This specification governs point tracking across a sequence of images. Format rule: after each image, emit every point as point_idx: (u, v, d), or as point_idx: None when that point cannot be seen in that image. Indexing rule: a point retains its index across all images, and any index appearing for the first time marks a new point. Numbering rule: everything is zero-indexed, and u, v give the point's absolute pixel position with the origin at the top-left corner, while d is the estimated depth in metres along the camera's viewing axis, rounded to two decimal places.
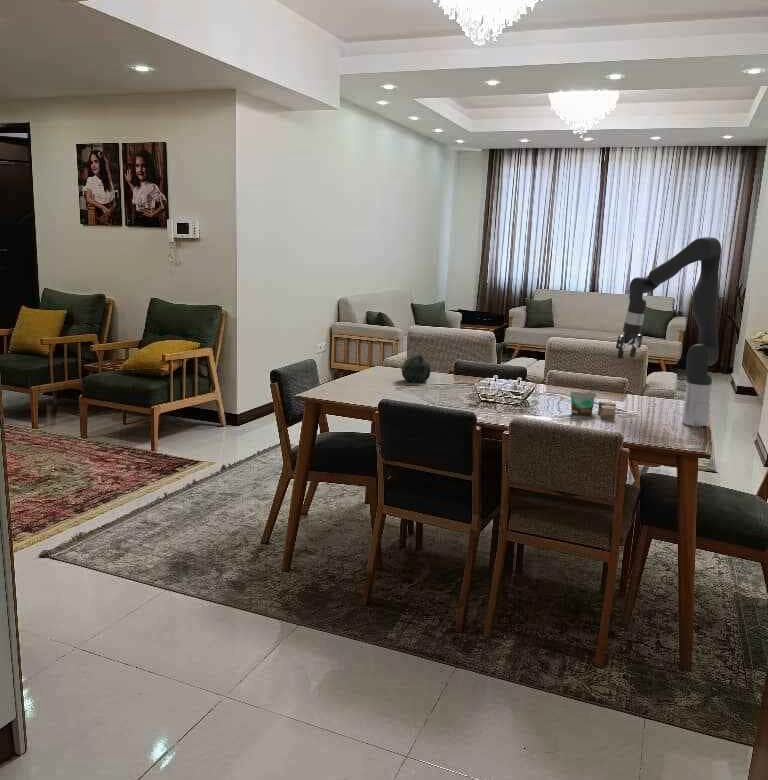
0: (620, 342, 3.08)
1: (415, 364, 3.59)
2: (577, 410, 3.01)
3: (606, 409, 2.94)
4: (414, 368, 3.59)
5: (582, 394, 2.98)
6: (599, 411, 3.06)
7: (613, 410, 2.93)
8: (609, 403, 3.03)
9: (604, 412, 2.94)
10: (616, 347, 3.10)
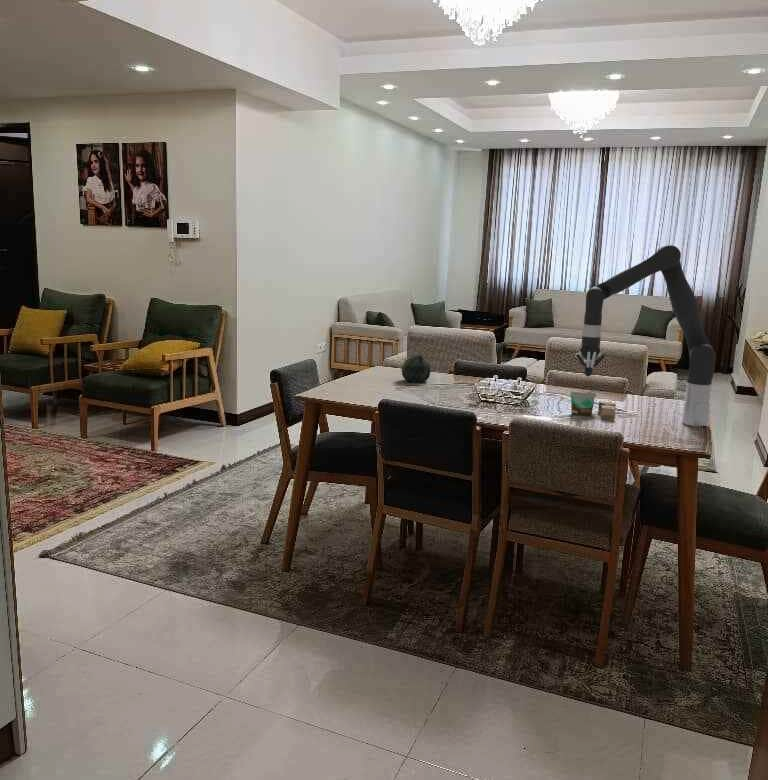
0: (579, 360, 2.97)
1: (415, 364, 3.59)
2: (577, 410, 3.01)
3: (606, 409, 2.94)
4: (414, 368, 3.59)
5: (582, 394, 2.98)
6: (599, 411, 3.06)
7: (613, 410, 2.93)
8: (609, 403, 3.03)
9: (604, 412, 2.94)
10: (580, 363, 2.99)
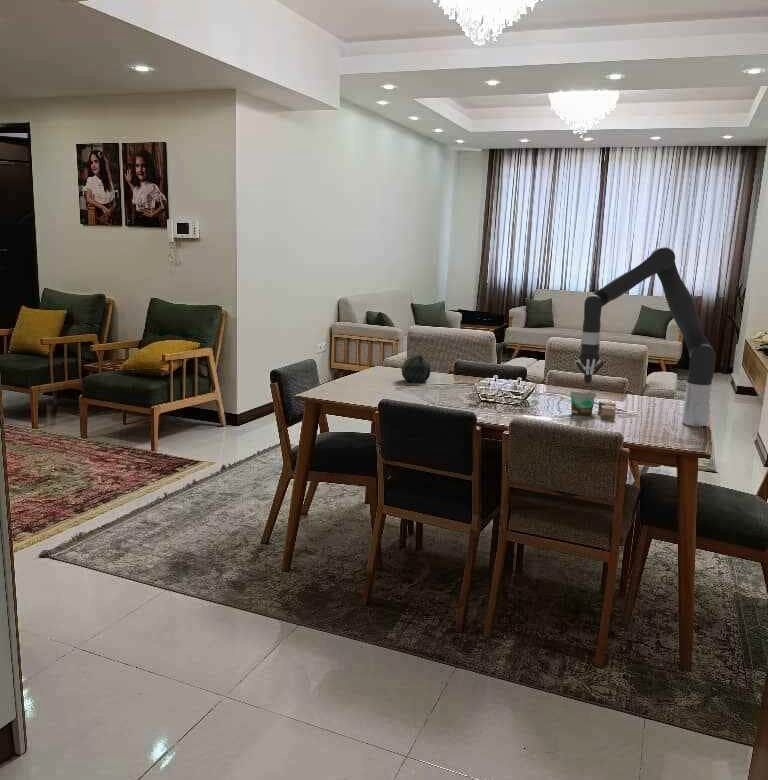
0: (578, 367, 2.98)
1: (415, 364, 3.59)
2: (577, 410, 3.01)
3: (606, 409, 2.94)
4: (414, 368, 3.59)
5: (582, 394, 2.98)
6: (599, 411, 3.06)
7: (613, 410, 2.93)
8: (609, 403, 3.03)
9: (604, 412, 2.94)
10: (580, 371, 3.00)
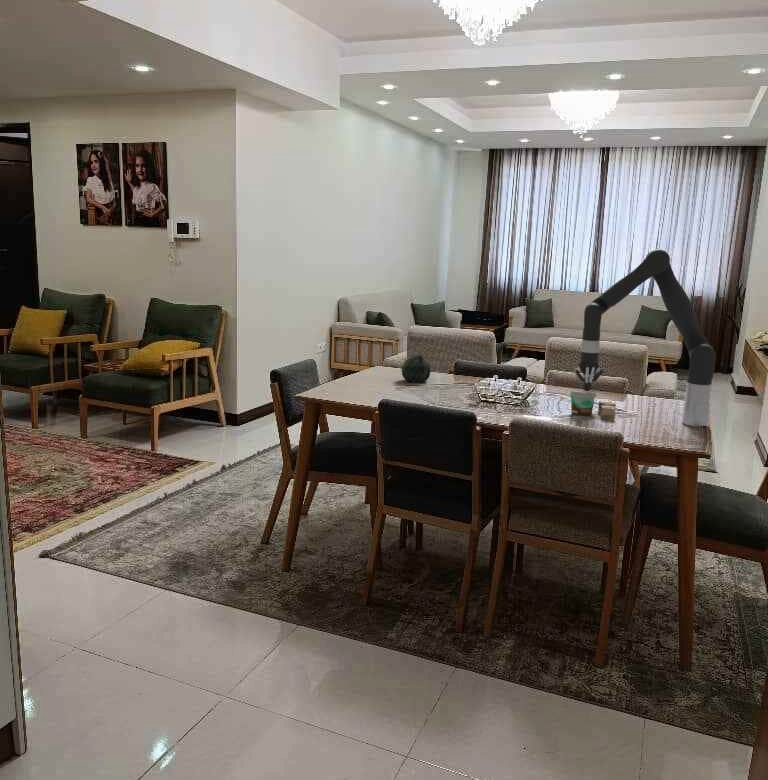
0: (577, 375, 2.98)
1: (415, 364, 3.59)
2: (577, 410, 3.01)
3: (606, 409, 2.94)
4: (414, 368, 3.59)
5: (582, 394, 2.98)
6: (599, 411, 3.06)
7: (613, 410, 2.93)
8: (609, 403, 3.03)
9: (604, 412, 2.94)
10: (579, 379, 3.00)
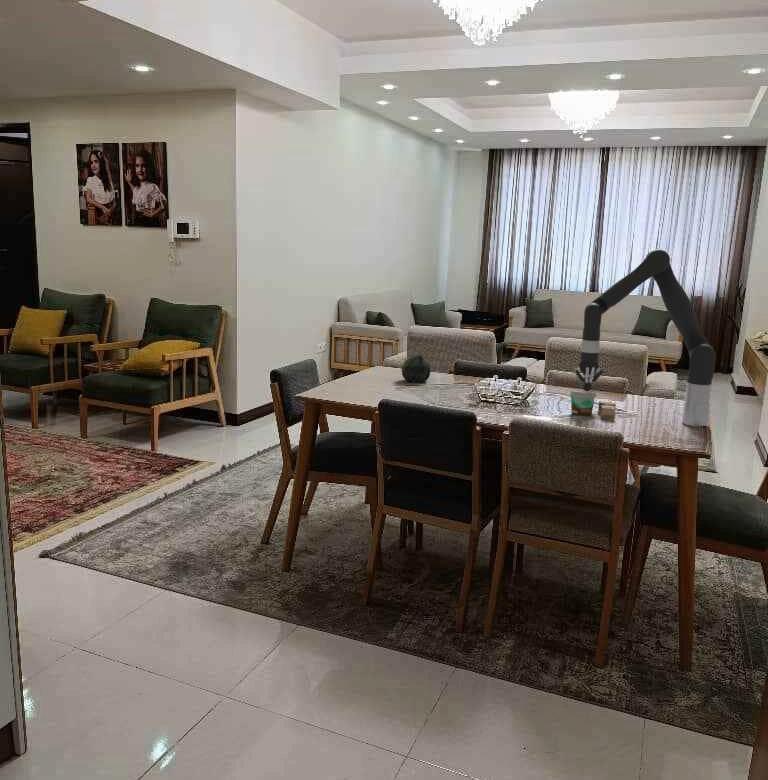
0: (577, 375, 2.98)
1: (415, 364, 3.59)
2: (577, 410, 3.01)
3: (606, 409, 2.94)
4: (414, 368, 3.59)
5: (582, 394, 2.98)
6: (599, 411, 3.06)
7: (613, 410, 2.93)
8: (609, 403, 3.03)
9: (604, 412, 2.94)
10: (579, 379, 3.00)
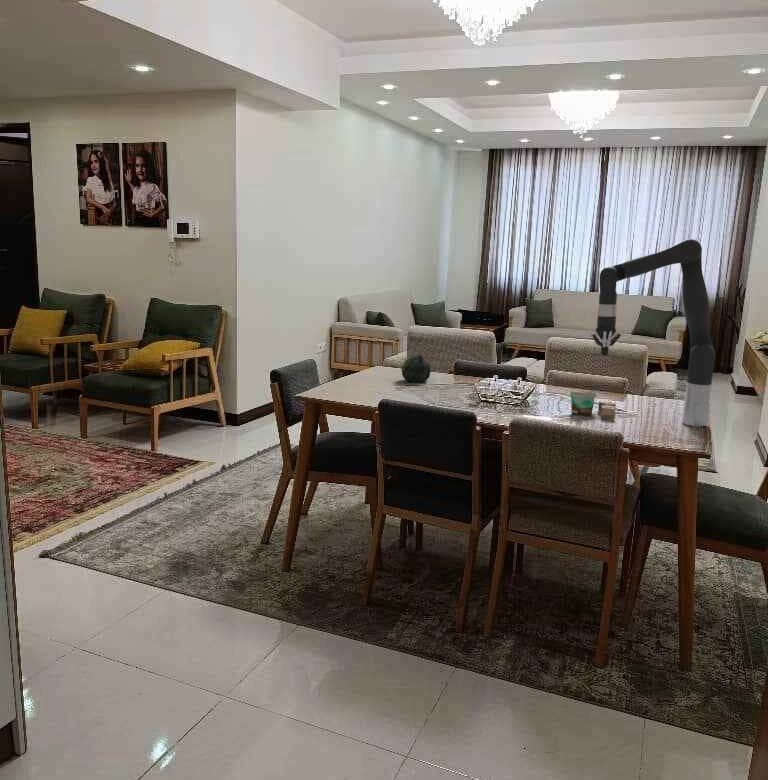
0: (595, 340, 2.98)
1: (415, 364, 3.59)
2: (577, 410, 3.01)
3: (606, 409, 2.94)
4: (414, 368, 3.59)
5: (582, 394, 2.98)
6: (599, 411, 3.06)
7: (613, 410, 2.93)
8: (609, 403, 3.03)
9: (604, 412, 2.94)
10: (597, 343, 3.00)
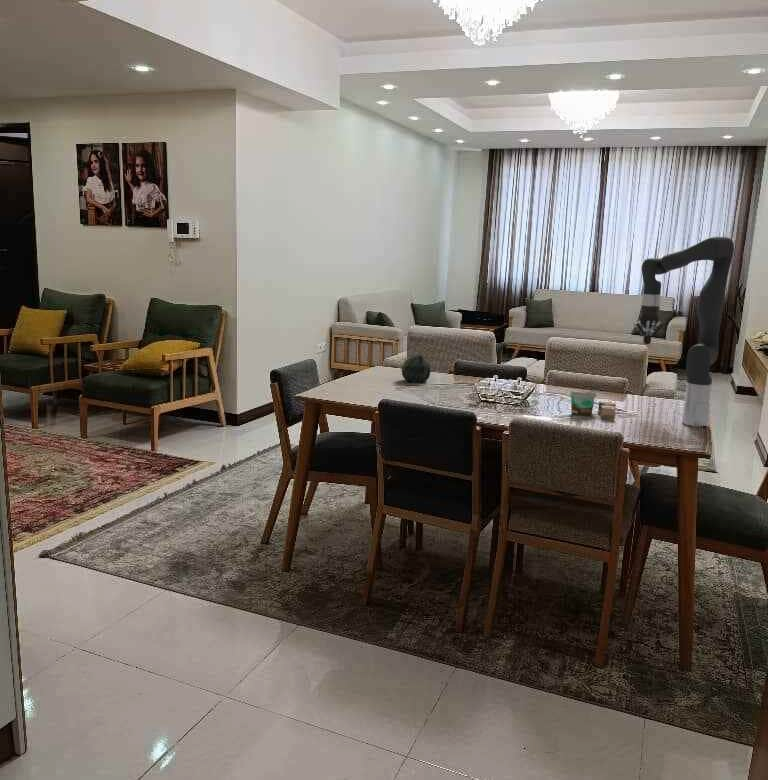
0: (638, 329, 3.08)
1: (415, 364, 3.59)
2: (577, 410, 3.01)
3: (606, 409, 2.94)
4: (414, 368, 3.59)
5: (582, 394, 2.98)
6: (599, 411, 3.06)
7: (613, 410, 2.93)
8: (609, 403, 3.03)
9: (604, 412, 2.94)
10: (640, 332, 3.10)
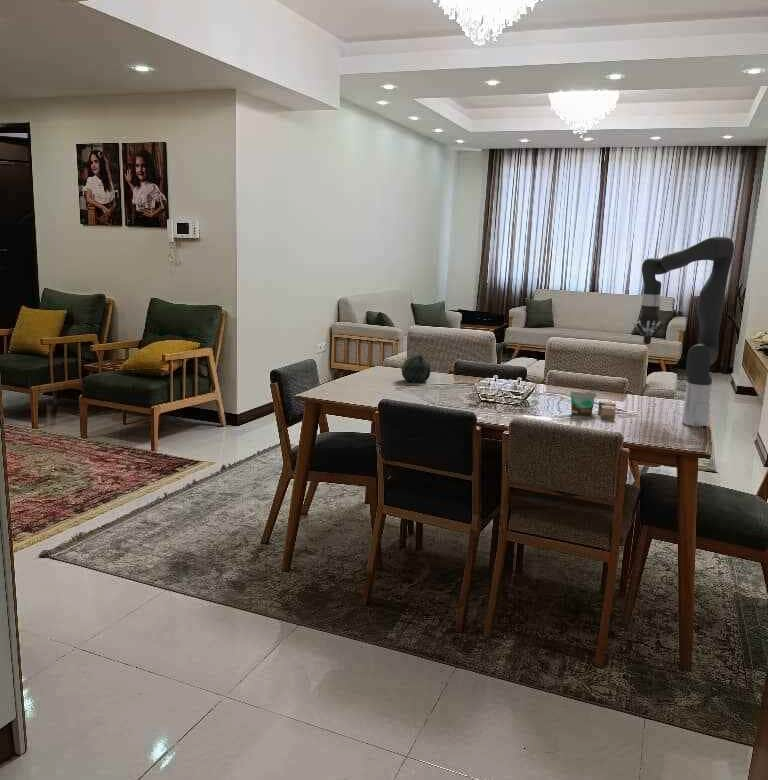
0: (638, 329, 3.08)
1: (415, 364, 3.59)
2: (577, 410, 3.01)
3: (606, 409, 2.94)
4: (414, 368, 3.59)
5: (582, 394, 2.98)
6: (599, 411, 3.06)
7: (613, 410, 2.93)
8: (609, 403, 3.03)
9: (604, 412, 2.94)
10: (640, 332, 3.10)
